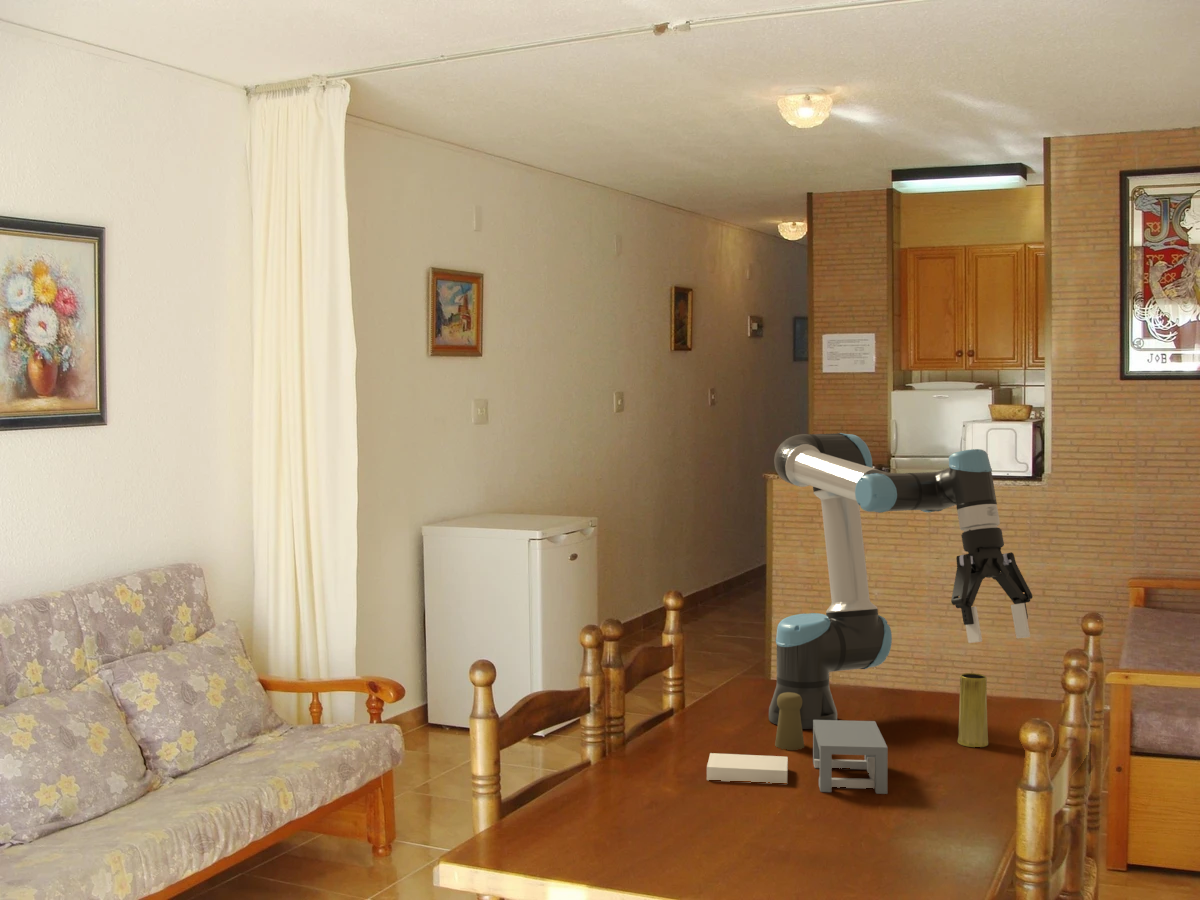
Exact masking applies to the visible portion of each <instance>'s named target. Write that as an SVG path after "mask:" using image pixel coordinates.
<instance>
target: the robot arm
mask: <svg viewBox="0 0 1200 900" xmlns="http://www.w3.org/2000/svg"><path fill="white" fill-rule="evenodd" d="M988 455H989V454H988V453H987V452H986V450H984V449H979V448H974V449H973V448H972V449H963V450H960V451H956V452H953V453H952V454H950V455H949V456H948V467H947V468H945V469H941V470H939V471H930V472H923V471H922V472H903V473H901V472H900V473H899V472H897V473H896V472H887V471H883V470H879V469H877V468H873V457H872V455H871V452H870V449H869V447H868V445H867V443H866V442H865V441H864V440H863V439H862V438H861V437H860V436H858V435H855V434H854V433H853V434H849V433H842V432H840V433H839V432H838V433H815V434H814V433H811V434H810V433H808V434H807V433H806V434H805V433H801V434H796V435H793V436H790V437H788V438H787V439H785V440H784V441H782V442H781V443H780V445H779V446H778V448H777V449H776V451H775V453H774V457H773V458H774V459H773V461H774V468H775V471H776V473H777V475H778V476H779V477H780V478H781V480H783V481H785V482H786V483H788V484H791V485H794V486H796V487H801V488H803V487H805V488H806V487H809V486H810V487H812V489H813V491H812V492H813V495H814V496H816V498H818V499H820V503H821V504H820V505H821V513H822V522H823V523H822V524H823V530H824V531H823V532H824V533H823V534H824V540H825V541H824V542H825V551H826V560H827V570H828V579H829V588H830V589H829V590H830V596H831V597H830V599H831V600H830V601H831V604H830V605H829V607H828V608H827V610H826V611H825V613H826V614H825V613H818V612H817V613H815V612H811V613H798V614H794V615H793V614H792V615H789V616H787V617H785V618H782V620H780V621H779V622H778V624H777V627H776V636H775V637H776V638H775V644H776V686H775V689H774V692H773V695H772V698H771V700H770V701H771V702H770V704H769V707H768V720H769V722H770V723H771V724H774V725H776V726H778V718H779V711H780V709H779V707H778V705H777V698H778V696H779V695H780V694H781V693H786V692H791V693H797V694H799V695H800V696H801V698H802V707H801V708H800V717H801V724H802V730H813V720H838V711H837V707H836V704H835V702H834V699H833V695H832V692H831V688H830V673H833V672H841V671H851V670H867V669H868V668H875V667H878V666H880V665H882V664H883V663H884V662H885V661H886V660H887V657H889V654H890V652H891V649H892V644H893V643H892V642H893V641H892V640H893V638H892V637H893V636H892V630H891V627H890V624H888V621H887V619H886V618H885V617H884V616H882V615H880V614H879V609H878V606H877V605H875V604H874V603H873V602H871V600H870V589H869V581H868V573H867V572H868V571H867V565H866V556H865V555H866V553H865V545H864V537H863V528H862V527H863V526H862V518H861V517H862V515H861V511H860V510H861V509H862V510H863V511H864V512H867V513H868V512H870V513H871V512H872V513H885V512H899V511H901V512H902V511H921V512H924V513H934V512H941V511H943V510H946V509H948V508H951V507H954V506H956V512H957V519H958V525H959V530H960V531H962V534H961V535H960V536H961V541H962V546H963V547H962V548H963V551H964V552H966V554H965V553H964V554H960V555H957V556H956V572H955V579H954V582H953V589H952V595H951V599H950V600H951V602H950V603H951V604H952V605H953V606H955V608H956V609H960V610H961V615H962V621H963V625H964V626H965V631H966V632H965V633H966V638H967V642H968V644H972V643H973V644H974V643H979V642H980V643H981V642H983V637H982V631H981V626H980V625H981V623H980V619H979V613H978V609H977V608H978V607H977V606H975V605H974V603H975V599H976V597H977V595H978V592H979V590H980V587H981V584H982V583H983V580H984V579H985V578H987V579H990V578H992V580H995V581H996V582H997V583H998V584H999V586H1000V587H1001V588H1002V590H1003V591H1004V593H1005V594H1006V595H1007V596H1008V598H1009V599H1010V600H1011V602H1012V603H1013V604H1010V609H1011V615H1012V620H1013V627H1014V633H1015V636H1016V639H1017V640H1018V639H1025V638H1026V639H1027V638H1031V633H1030V628H1029V627H1030V626H1029V622H1028V621H1029V619H1028V618H1029V614H1028V611H1027V610H1028V609H1027V603H1030V602H1031V600H1032V599H1033V594H1032V592H1031V589H1030V587H1029V585H1028V583H1027V582H1026V580H1025V577H1024V575H1023V574H1022V572H1021V570H1020V568H1019V566H1018V564H1017V561H1016V558H1015V555H1014V552H1006V553H1002V551H1001V550H1002V548H1003V547H1004V546H1005V545H1004V544H1005V542H1004V541H1005V540H1004V536H1003V530H1002V529H1001V528H1000V527H998V526H1000V524H1001V520H1000V515H999V509H998V504H997V498H996V496H997V495H996V491H995V484H994V478H993V473H992V471H993V468H992V466H991V463H990V458H989V456H988Z"/></svg>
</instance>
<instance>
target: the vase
mask: <svg viewBox="0 0 1200 900" xmlns="http://www.w3.org/2000/svg"><path fill="white" fill-rule="evenodd" d="M987 679H988V677H987V675H985V674H981V673H975V672H974V673H973V672H965V673H962V674H960V676H959V705H958V706H959V708H958V709H959V710H958V711H959V712H958V738H957V743H958V744H959V745H961V746H963V747H968V748H975V747H980V748H985V747H987V746H989V737H988V735H989V734H988V709H987V708H988V707H987V706H988V705H987V702H988V701H987V691H988V689H987V688H988V687H987V685H988V684H987Z"/></svg>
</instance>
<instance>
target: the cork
mask: <svg viewBox="0 0 1200 900" xmlns="http://www.w3.org/2000/svg"><path fill="white" fill-rule="evenodd" d="M777 705H778V707H779V709H780V711H779V718H778V725H776V726H777V728H776V733H775V734H776V735H775V742H774V747H775V746H776V747H775V748H777V747H778V749H779V748H781V749H780V750H783V749H787V750H786V751H798V749H800V750H802V748H803V749H804V748H805V741H804V732H803V729H802V724H801V717H800V708H801V707H802V698H801V696H800V695H799V694H797V693H791V692H786V693H781V694H780V695H779V696H778V698H777Z"/></svg>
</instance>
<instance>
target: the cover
mask: <svg viewBox="0 0 1200 900" xmlns="http://www.w3.org/2000/svg"><path fill="white" fill-rule="evenodd" d="M788 760H789V759H788V756H780V755H777V756H776V755H762V754H761V755H760V754H759V755H756V754H738V753H719V752H718V753H714V752H713V753H712V752H710V753H709V757H708V762H707V763H706V781H709V780H721V781H720V782H730V781H751V782H766V783H765V784H772V783H787V784H788V775H789V774H788V773H789V772H788V771H789V770H788V769H789V767H788V765H789V761H788ZM751 782H750V783H751ZM768 782H770V783H768Z"/></svg>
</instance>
